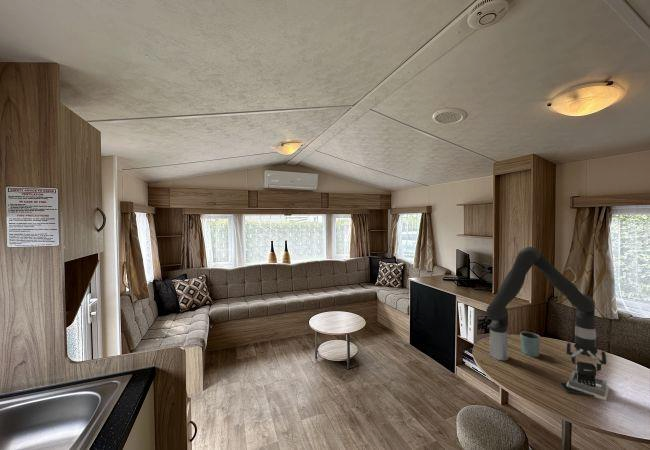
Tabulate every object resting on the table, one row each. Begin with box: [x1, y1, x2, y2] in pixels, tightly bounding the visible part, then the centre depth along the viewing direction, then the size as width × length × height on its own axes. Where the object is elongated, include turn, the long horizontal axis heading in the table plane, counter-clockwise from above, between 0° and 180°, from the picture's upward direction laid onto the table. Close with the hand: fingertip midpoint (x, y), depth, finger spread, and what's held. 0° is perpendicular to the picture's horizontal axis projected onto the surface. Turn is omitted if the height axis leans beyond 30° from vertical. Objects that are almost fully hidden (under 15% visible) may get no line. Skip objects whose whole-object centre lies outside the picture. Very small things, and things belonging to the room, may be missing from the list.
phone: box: [559, 382, 595, 398], centre depth 131 cm, size 8×1×15 cm
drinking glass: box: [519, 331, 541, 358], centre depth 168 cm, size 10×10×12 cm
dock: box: [566, 370, 610, 402], centre depth 133 cm, size 14×14×4 cm
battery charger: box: [575, 360, 597, 387], centre depth 133 cm, size 7×4×11 cm, turn 67°
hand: (586, 366), depth 133 cm, fingers open, 8 cm apart
